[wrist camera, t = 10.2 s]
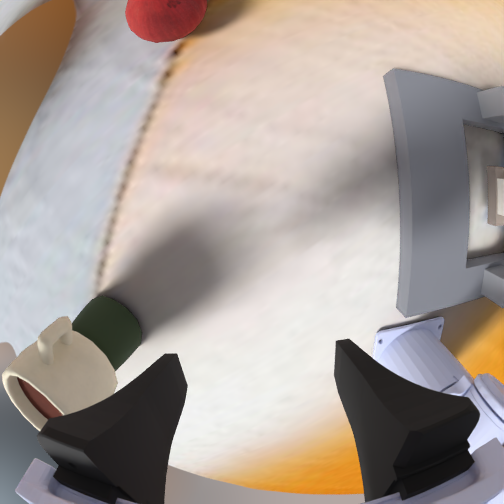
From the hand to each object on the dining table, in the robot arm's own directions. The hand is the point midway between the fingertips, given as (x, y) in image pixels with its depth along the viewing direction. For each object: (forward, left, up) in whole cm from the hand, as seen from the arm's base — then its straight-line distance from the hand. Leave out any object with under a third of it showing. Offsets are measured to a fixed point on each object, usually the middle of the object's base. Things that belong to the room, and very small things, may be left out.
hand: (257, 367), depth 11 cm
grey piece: (+6, -23, -10) cm, 26 cm away
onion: (+22, +4, -11) cm, 25 cm away
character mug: (-3, +14, -11) cm, 18 cm away
